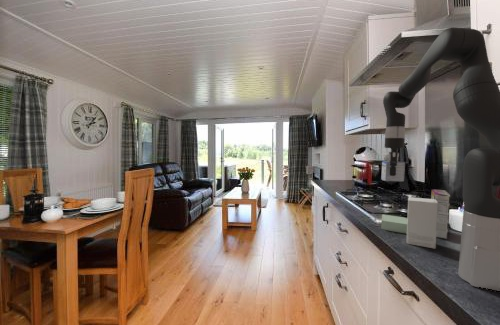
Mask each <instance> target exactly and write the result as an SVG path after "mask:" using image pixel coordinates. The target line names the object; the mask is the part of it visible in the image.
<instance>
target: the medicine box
mask: <svg viewBox="0 0 500 325" xmlns="http://www.w3.org/2000/svg"><path fill="white" fill-rule="evenodd" d="M392 163H394V162H392ZM405 168H406V162H405V161H398V162H397V166H396V175H395V176H390V162H389V160H388V161H385V160H382V161H381V177H380V178H381V179H380V180H382V181H384V182H404V181H405V171H406V170H405Z"/></svg>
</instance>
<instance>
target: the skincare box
mask: <svg viewBox="0 0 500 325" xmlns="http://www.w3.org/2000/svg"><path fill="white" fill-rule="evenodd" d="M437 210H438V202H437V201H436V199H431V198H422V197H413V196H408V198H407V217H406V218H407V234H406V244H408V245H413V246H418V247H424V248H428V249H434V250H435V249H437V237H436V230H437Z"/></svg>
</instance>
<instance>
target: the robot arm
mask: <svg viewBox="0 0 500 325" xmlns="http://www.w3.org/2000/svg"><path fill="white" fill-rule="evenodd" d="M487 52H488V51H487V46H486V41H485V36H484V34H483V33H482V31H480V30H477V29H474V28H465V27H464V28H463V27H449V28H448V27H447V28H446V29H444V30H443V31H442V32H441V33H439V35H438V36H437V37H436V38H435V40H434V41H433V43H431V45H430V46H429V48H428V50H427V51H426V52H425V53H424V55H423V57H421V59H420V61H419V63H418V64H417V66H416V67H415V68H414V69H413V71H412V72H411V73H410V74H409V75H408V76H407V77H406V78H405V80H403V82H402V83H400V85H399V86H398V91H387V92H386V93H385V94H384V97H383V100H382V103H383V108H384V112H385V116H386V125H385V126H386V127H385V132H384V133H385V134H384V148H385V149H390V151H388V161H389V162H390V176H395V175H396V166H397V162H399V156H400V152H398V149H404V148H405V141H406V140H405V138H406V130H405V129H406V128H405V127H406V125H405V124H406V114H404V113H402V112H398V111H397V109H405V108H407V107H409V106H410V105H411V103H412V102H413V100H414V98H415V97H416V95H417V94H418V93H419V92H420V91H422V89H424V88H425V87H426V86H427V85H428V83H429V82H430V78H431V75H432V74H431V72H432V67H433V66H434V65H435V64H436V63H438V62H439V61H446V62H447V61H448V62H456V63H458V64H460V67H461V70H462V75H461V77H460V78H459V80H458V81H457V83H456V85H455V86H454V88H453V92H452V97H453V98H452V100H453V101H454V106H455V109H456V112H457V114H458V116H459V117H460V118H461V119H462V120H463V121H464V122H465V123H467V124H468V125H469V126H470V127H472V128H473V129H474V130H476V132H478V133H479V134H480V135H482V136H483V138H484V139H485V140H486V142H487V143H488V145H489V146H490V148H489V147H480V148H479V147H478V148H473V149H471V150H469V151H468V152H467V153H466V154H465V158H464V160H463V164H462V166H463V167H462V201H463V212H462V213H463V214H462V215H463V216H462V224H461V236H460V247H459V248H460V250H459V259H458V260H459V262H458V271H457V272H458V277H459V278H461V279H462V280H463V281H465V282H467V283H469V284H470V285H471V286H472V287H476V288H479V287H481V288H480V289H483V288H486V289H485V290H488V289H492V290H497V291H500V198H498V197H496V196H495V195H494V190H493V188H494V187H495V188H496V187H499V188H500V88H499V85H498V83H497V81H496V79H495V76H494V74H493V73H494V72H493V70H492V67H491V65H490V62H489V58H488V57H489V56H488V53H487ZM392 162H394V163H392ZM487 288H488V289H487ZM492 290H491V291H492Z"/></svg>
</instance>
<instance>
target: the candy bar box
mask: <svg viewBox="0 0 500 325" xmlns="http://www.w3.org/2000/svg"><path fill="white" fill-rule="evenodd" d="M430 194H431V195H430V199H436V201H437V202H438V210H437V230H436V239H437V238H438V239H444V240H448V237H449V222H450V207H451V204H450V203H451V195H450V193H449V192H448V191H447V190H443V189H431V193H430Z"/></svg>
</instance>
